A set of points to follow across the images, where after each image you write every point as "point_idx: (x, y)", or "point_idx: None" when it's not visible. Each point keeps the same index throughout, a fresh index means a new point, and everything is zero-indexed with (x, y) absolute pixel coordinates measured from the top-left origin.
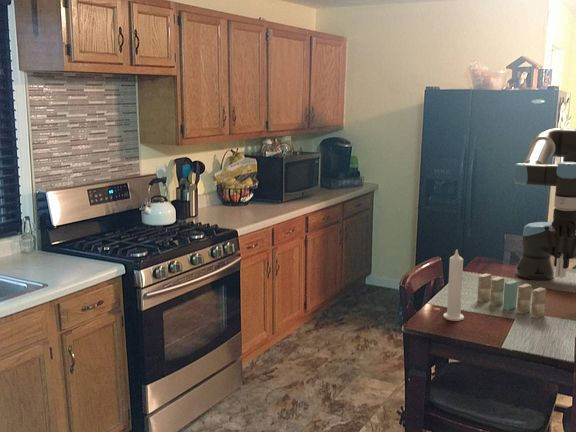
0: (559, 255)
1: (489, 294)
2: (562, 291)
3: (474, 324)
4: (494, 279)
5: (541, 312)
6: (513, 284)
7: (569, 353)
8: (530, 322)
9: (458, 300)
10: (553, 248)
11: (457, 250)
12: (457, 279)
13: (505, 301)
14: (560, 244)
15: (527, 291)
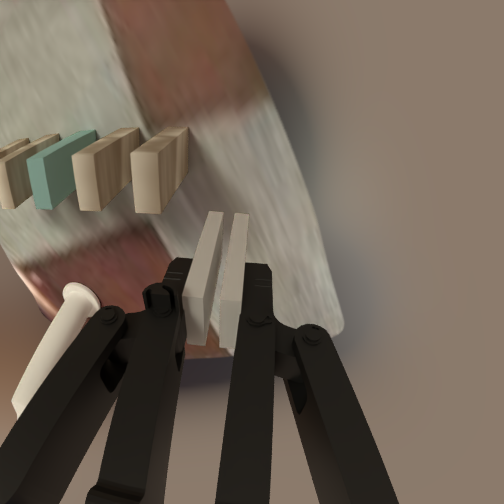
0: (181, 333)
1: (18, 146)
2: None
3: (127, 304)
4: (5, 203)
5: (184, 149)
6: (51, 184)
7: (341, 312)
8: (192, 211)
9: (76, 335)
10: (94, 351)
11: None
12: None
13: None
14: (164, 435)
15: (106, 177)
